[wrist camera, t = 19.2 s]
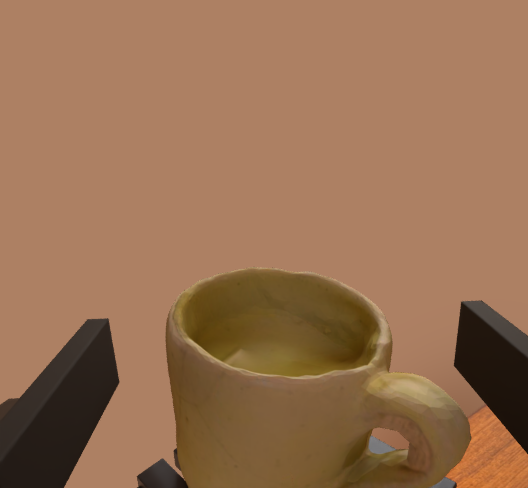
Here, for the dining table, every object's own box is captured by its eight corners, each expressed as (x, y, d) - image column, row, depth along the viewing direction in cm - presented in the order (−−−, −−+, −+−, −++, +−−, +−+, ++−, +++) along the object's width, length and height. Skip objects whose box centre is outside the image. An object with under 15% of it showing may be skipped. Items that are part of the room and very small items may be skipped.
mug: (105, 411, 19) (156, 228, 17) (266, 388, 26) (321, 251, 23) (204, 750, 10) (351, 465, 8) (417, 586, 17) (539, 397, 14)
